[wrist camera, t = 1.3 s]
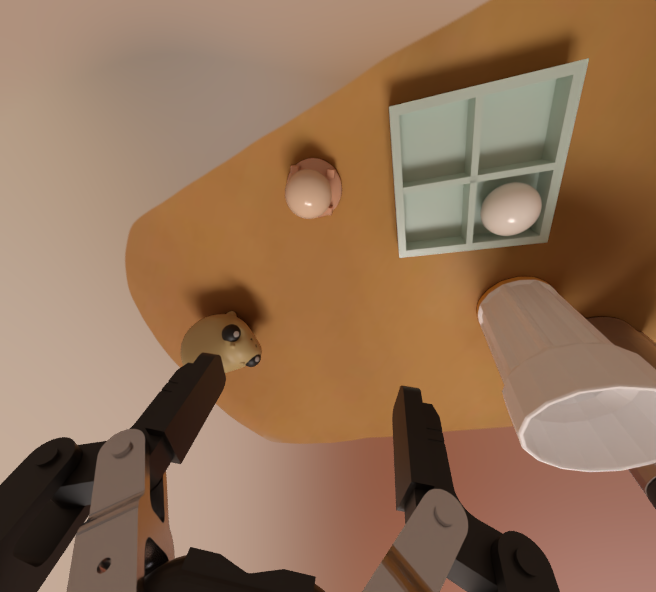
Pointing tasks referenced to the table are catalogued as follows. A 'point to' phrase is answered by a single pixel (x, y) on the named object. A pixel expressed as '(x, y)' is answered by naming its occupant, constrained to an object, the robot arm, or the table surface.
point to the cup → (568, 381)
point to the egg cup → (328, 172)
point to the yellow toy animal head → (222, 341)
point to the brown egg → (308, 193)
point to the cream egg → (511, 209)
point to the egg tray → (480, 157)
